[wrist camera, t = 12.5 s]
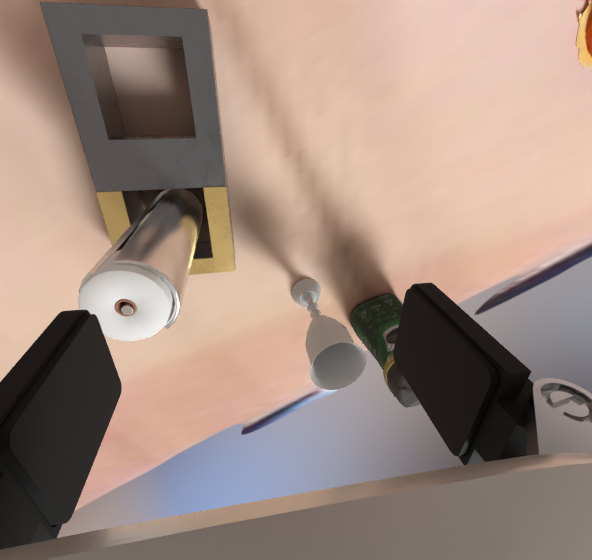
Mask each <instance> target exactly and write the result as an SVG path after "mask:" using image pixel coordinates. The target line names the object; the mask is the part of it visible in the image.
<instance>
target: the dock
mask: <svg viewBox="0 0 592 560" xmlns="http://www.w3.org/2000/svg"><path fill="white" fill-rule="evenodd" d="M40 5H41V8H42V11H43V15H44V18H45V21H46V25H47V28H48V31H49V35H50V38H51V41H52V45H53V48H54V51H55V55H56V58H57V61H58V65H59V68H60V71H61V75H62V78H63V81H64V85H65V88H66V91H67V95H68V98H69V101H70V105H71V108H72V111H73V115H74V118H75V121H76V125H77V128H78V131H79V135H80V138H81V142H82V145H83V148H84V152H85V155H86V158H87V162H88V165H89V168H90V172H91V175H92V178H93V182H94V185H95V188H96V194H97V198H98V201H99V204H100V208H101V211H102V214H103V218H104V221H105V224H106V228H107V231H108V234H109V238H110V241H111V244H112V246H113V245H114V244H115V243H116V241H117V240H118V239H119V238H120V237H121V236H122V235H123V234H124V232H125V231H126V230H127V229H128V228H129V227H130V226H131V225H132V224H133V222H134V221H135V220H136V219H137V218H138V217H139V216H140V215H141V214H142V212H143V208H142V204H141V200H140V196H139V191H138V190H157V189H180V188H203V190H204V197H205V204H206V211H207V218H208V225H209V232H210V239H211V241H210V242H197V244H196V248H195V252H194V256H193V260H192V264H191V268H190V272H189V275H193V274H205V273H216V272H228V271H235V251H234V241H233V232H232V223H231V213H230V204H229V194H228V185H227V176H226V166H225V157H224V148H223V138H222V129H221V119H220V110H219V101H218V91H217V82H216V73H215V63H214V54H213V44H212V35H211V26H210V21H209V16H208V12H207V9H185V8H162V7H140V6H118V5H95V4H73V3H51V2H40ZM104 47H141V48H181V49H184V55H185V62H186V69H187V76H188V83H189V90H190V97H191V104H192V111H193V118H194V125H195V132H196V135H194V136H138V137H125V133H124V128H123V124H122V120H121V116H120V111H119V107H118V103H117V99H116V95H115V90H114V86H113V82H112V78H111V74H110V69H109V65H108V61H107V57H106V53H105V48H104Z"/></svg>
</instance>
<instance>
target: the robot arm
mask: <svg viewBox="0 0 592 560" xmlns="http://www.w3.org/2000/svg"><path fill="white" fill-rule="evenodd" d="M393 358H394V361H395V363H396V365H397V366H398V368H399V370H400V371H401V373H402V374H403V376H404V378H405V379H406V381H407V382H408V384H409V386H410V387H411V389H412V390H413V392H414V394H415V395H416V397H417V398H418V400H419V402H420V403H421V405H422V407H423V408H424V409H425V411H426V413H427V415H428V416H429V418H430V419H431V421H432V423H433V424H434V426H435V427H436V429H437V431H438V432H439V434H440V435H441V437H442V438H443V440H444V442H445V443H446V445H447V446H448V448H449V450H450V451H451V452H452V453H453V454H454V455H455V456H458V457H459V458H460V460H461V461H462V463H463V464H464V466H457V467H451V468H445V469H440V470H434V471H428V472H422V473H416V474H410V475H404V476H398V477H393V478H387V479H381V480H375V481H369V482H364V483H358V484H353V485H346V486H341V487H335V488H329V489H324V490H318V491H312V492H307V493H301V494H295V495H290V496H284V497H278V498H273V499H268V500H262V501H257V502H250V503H245V504H239V505H233V506H228V507H222V508H217V509H211V510H206V511H200V512H195V513H189V514H184V515H179V516H174V517H167V518H162V519H156V520H151V521H146V522H140V523H135V524H129V525H124V526H118V527H113V528H108V529H102V530H96V531H92V532H86V533H81V534H76V535H71V536H66V537H61V538H57V535H58V533H59V531H60V529H61V526H62V524H64V523H67V522H68V521H69V520H70V518H71V517H72V514H73V512H74V510H75V507H76V505H77V502H78V500H79V497H80V495H81V492H82V490H83V487H84V485H85V482H86V480H87V477H88V475H89V472H90V470H91V467H92V465H93V462H94V460H95V457H96V455H97V452H98V450H99V447H100V445H101V442H102V440H103V437H104V435H105V432H106V430H107V427H108V425H109V422H110V420H111V417H112V415H113V412H114V410H115V407H116V405H117V402H118V400H119V397H120V394H121V381H120V379H119V376H118V373H117V370H116V368H115V365H114V362H113V359H112V356H111V354H110V351H109V348H108V345H107V343H106V340H105V337H104V334H103V331H102V329H101V326H100V323H99V320H98V318H97V316H96V315H95V314H90V312H89V311H88V310H73V311H63V312H60V313H59V314H58V315H57V317H56V318H55V319H54V320H53V321H52V322H51V324H50V325H49V326H48V327H47V328H46V329H45V331H44V332H43V333H42V334H41V335H40V336H39V338H38V339H37V340H36V341H35V342H34V343H33V345H32V346H31V347H30V348H29V349H28V350H27V352H26V353H25V354H24V355H23V356H22V358H21V359H20V360H19V361H18V362H17V363H16V365H15V366H14V367H13V368H12V369H11V370H10V372H9V373H8V374H7V375H6V376H5V377H4V379H3V380H2V381H1V382H0V560H592V394H591V393H589V392H588V391H586V390H584V389H582V388H580V387H579V386H577V385H574V384H572V383H569V382H567V381H563V380H559V379H555V378H543V379H539V380H537V381H536V382H535V383H534V384H533V383H532V382H531V381H530V380H529V379H528V377H529V375H530V373H531V371H530V370H529V369H528V368H527V367H526V366H525V365H524V364H522V363H521V362H520V361H519V360H518V359H517V358H516V357H515V356H513V355H512V354H511V353H510V352H509V351H508V350H507V349H505V348H504V347H503V346H502V345H501V344H500V343H499V342H498V341H497V340H496V339H494V338H493V337H492V336H491V335H490V334H489V333H488V332H487V331H485V330H484V329H483V328H482V327H481V326H480V325H479V324H478V323H476V322H475V321H474V320H473V319H472V318H471V317H470V316H469V315H468V314H466V313H465V312H464V311H463V310H462V309H461V308H460V307H459V306H458V305H456V304H455V303H454V302H453V301H452V300H451V299H450V298H449V297H447V296H446V295H445V294H444V293H443V292H442V291H441V290H440V289H439V288H437V287H436V286H435V285H434V284H432V283H421V284H413V285H412V286H411V288H410V289H408V290H407V291H406V294H405V299H404V303H403V308H402V313H401V317H400V322H399V327H398V331H397V336H396V341H395V346H394V350H393Z"/></svg>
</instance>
